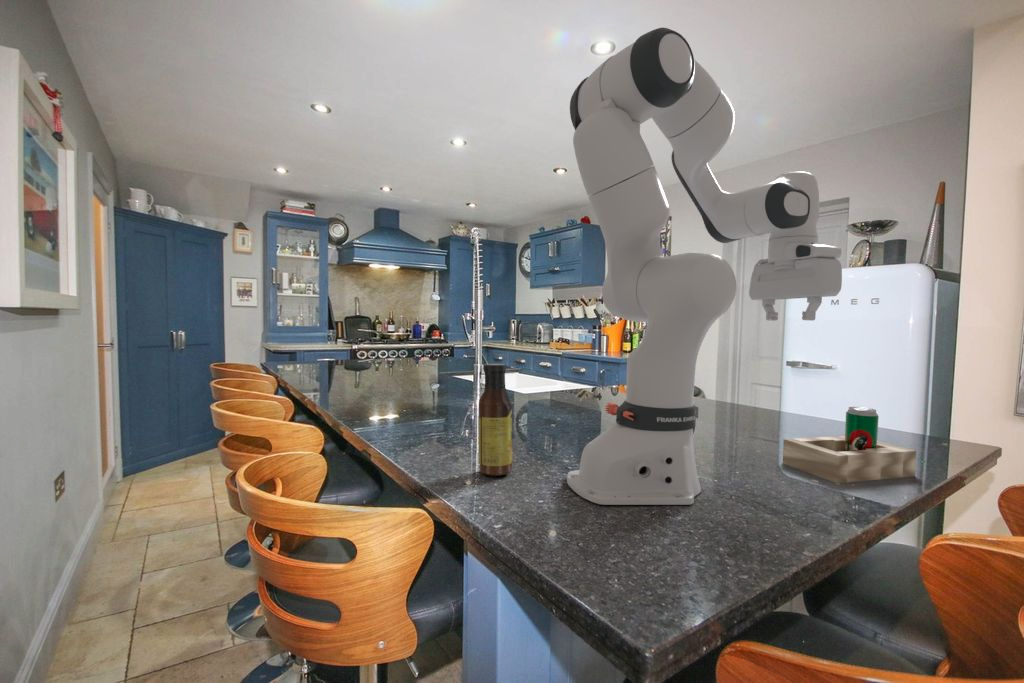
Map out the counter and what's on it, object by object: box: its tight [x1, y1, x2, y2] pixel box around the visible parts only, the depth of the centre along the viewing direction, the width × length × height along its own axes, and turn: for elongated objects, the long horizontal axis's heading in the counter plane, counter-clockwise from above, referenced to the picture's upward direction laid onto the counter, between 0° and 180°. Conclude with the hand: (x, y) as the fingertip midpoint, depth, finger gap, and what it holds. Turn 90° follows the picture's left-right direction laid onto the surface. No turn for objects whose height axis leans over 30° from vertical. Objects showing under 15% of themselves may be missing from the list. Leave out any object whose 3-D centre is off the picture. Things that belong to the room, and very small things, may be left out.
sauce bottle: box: [477, 363, 514, 477], centre depth 86 cm, size 6×6×20 cm
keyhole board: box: [782, 435, 917, 484], centre depth 90 cm, size 18×12×5 cm, turn 104°
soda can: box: [844, 406, 879, 451], centre depth 90 cm, size 5×5×12 cm
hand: (789, 320), depth 98 cm, fingers open, 8 cm apart
